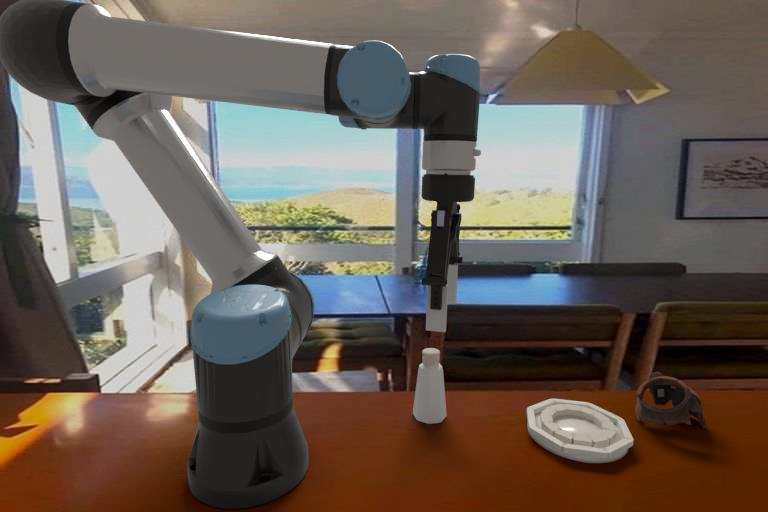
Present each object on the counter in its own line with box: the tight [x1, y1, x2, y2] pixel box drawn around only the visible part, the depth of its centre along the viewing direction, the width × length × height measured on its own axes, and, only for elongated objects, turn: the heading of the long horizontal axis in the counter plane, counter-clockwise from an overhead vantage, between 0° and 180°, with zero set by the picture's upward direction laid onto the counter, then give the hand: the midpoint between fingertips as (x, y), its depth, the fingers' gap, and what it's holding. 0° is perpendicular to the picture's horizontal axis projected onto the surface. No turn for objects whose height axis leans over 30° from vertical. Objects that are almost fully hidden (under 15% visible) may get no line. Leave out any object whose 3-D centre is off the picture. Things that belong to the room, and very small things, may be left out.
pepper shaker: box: [412, 347, 448, 425], centre depth 74 cm, size 5×5×11 cm
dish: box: [526, 398, 635, 464], centre depth 70 cm, size 14×14×2 cm
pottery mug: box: [634, 371, 707, 430], centre depth 74 cm, size 12×10×8 cm
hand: (442, 315), depth 71 cm, fingers open, 13 cm apart
